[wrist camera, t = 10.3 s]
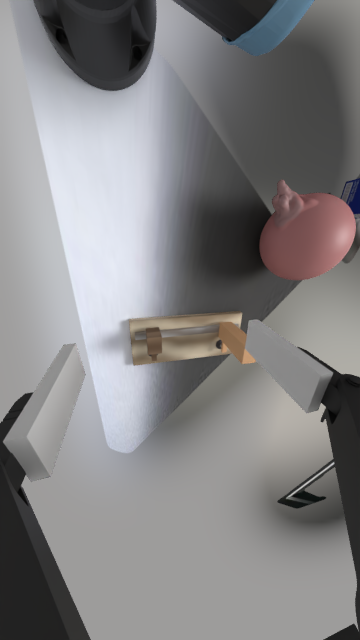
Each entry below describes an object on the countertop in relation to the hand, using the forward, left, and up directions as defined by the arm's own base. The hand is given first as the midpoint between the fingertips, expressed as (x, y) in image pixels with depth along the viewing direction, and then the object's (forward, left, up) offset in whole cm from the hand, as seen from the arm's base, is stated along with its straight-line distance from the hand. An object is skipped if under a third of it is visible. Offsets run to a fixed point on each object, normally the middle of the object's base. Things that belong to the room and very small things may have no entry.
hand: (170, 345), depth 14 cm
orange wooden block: (+15, +19, -27) cm, 36 cm away
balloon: (-10, +29, -29) cm, 42 cm away
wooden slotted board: (+15, +10, -29) cm, 34 cm away
